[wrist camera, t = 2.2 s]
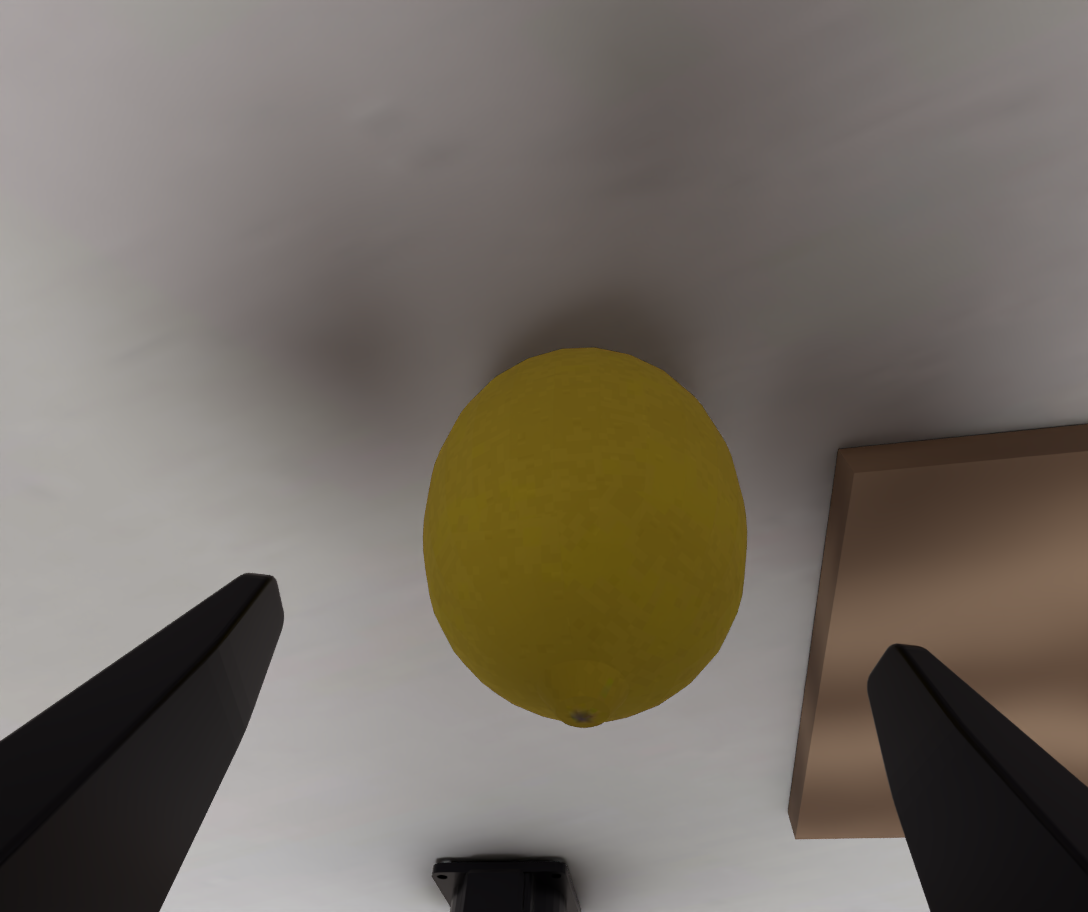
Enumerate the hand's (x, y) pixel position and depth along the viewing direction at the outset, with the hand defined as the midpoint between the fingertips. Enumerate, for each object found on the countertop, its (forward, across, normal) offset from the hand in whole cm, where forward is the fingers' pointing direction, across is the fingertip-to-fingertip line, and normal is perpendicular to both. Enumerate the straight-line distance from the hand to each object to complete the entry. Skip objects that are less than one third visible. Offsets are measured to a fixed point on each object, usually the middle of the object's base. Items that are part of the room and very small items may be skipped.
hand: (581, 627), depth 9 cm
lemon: (+7, 0, 0) cm, 7 cm away
